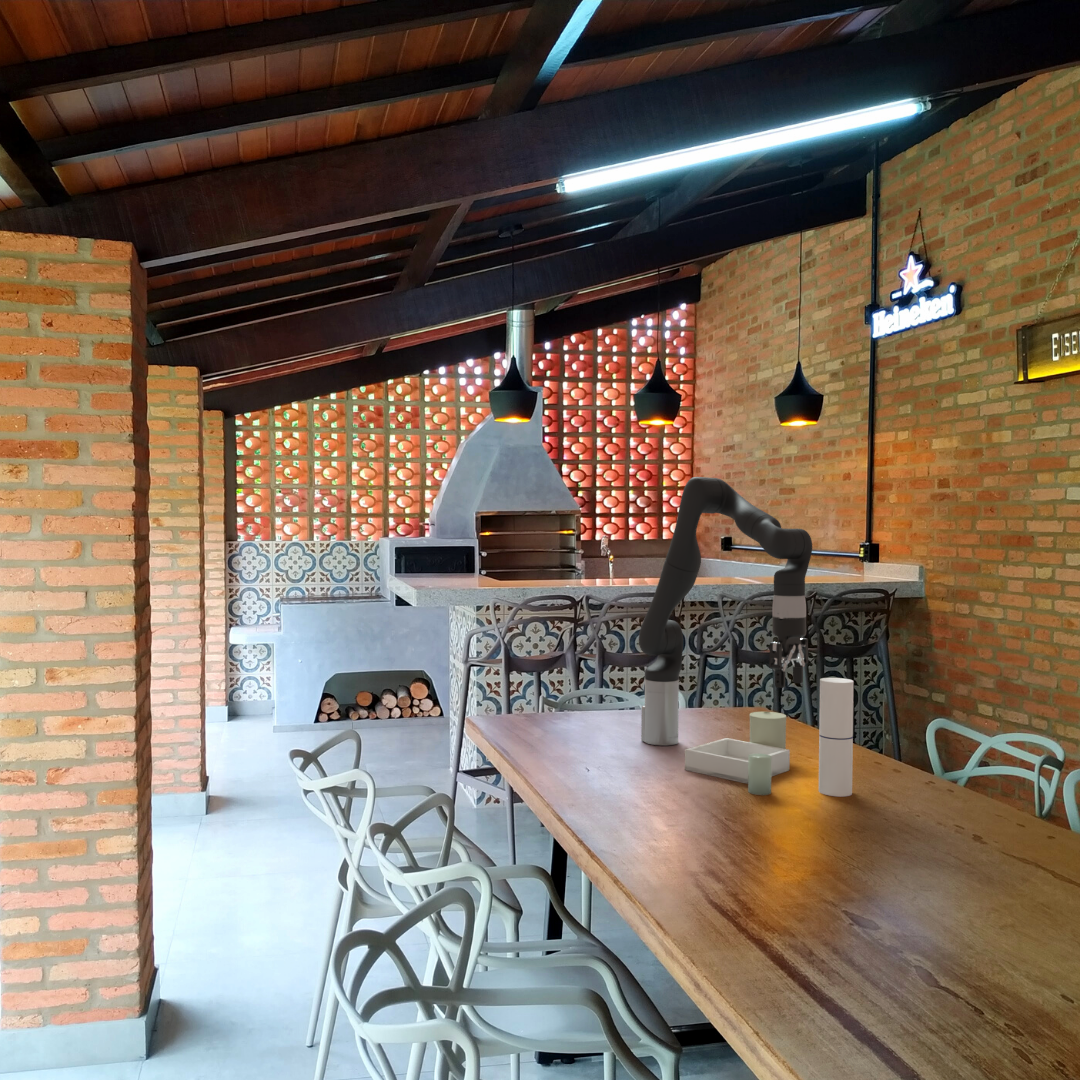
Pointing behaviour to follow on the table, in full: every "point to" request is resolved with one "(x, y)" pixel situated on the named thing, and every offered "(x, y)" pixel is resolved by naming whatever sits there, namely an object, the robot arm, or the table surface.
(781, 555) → the robot arm
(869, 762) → the table surface
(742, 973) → the table surface
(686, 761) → the grey tub
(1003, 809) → the table surface
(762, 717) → the can
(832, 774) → the cylindrical container
